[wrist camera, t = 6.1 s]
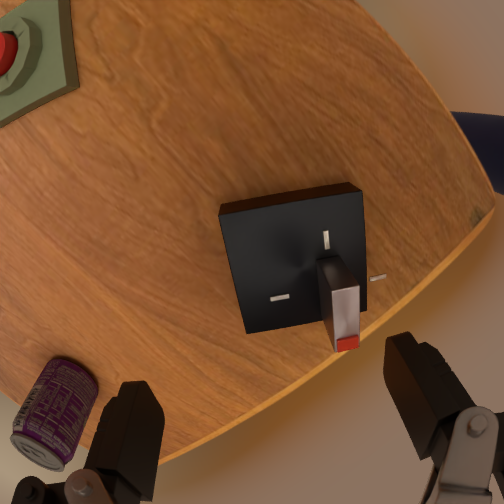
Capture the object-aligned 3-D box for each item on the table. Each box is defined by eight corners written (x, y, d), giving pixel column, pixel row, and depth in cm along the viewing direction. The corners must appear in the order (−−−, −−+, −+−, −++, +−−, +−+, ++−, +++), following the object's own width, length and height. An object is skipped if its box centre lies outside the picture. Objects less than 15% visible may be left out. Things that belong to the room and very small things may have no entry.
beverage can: (51, 384, 32) (15, 454, 21) (45, 346, 29) (-2, 421, 18) (100, 404, 33) (72, 481, 22) (100, 367, 30) (63, 454, 19)
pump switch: (69, -11, 16) (46, -25, 12) (80, 87, 20) (54, 84, 16) (-12, 40, 16) (-38, 36, 12) (-4, 130, 20) (-32, 136, 16)
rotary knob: (315, 259, 23) (332, 293, 18) (339, 255, 23) (361, 287, 18) (321, 316, 25) (335, 355, 20) (342, 311, 25) (360, 349, 20)
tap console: (367, 179, 23) (384, 187, 21) (372, 303, 28) (384, 323, 25) (220, 204, 24) (217, 216, 21) (249, 328, 28) (250, 350, 26)
